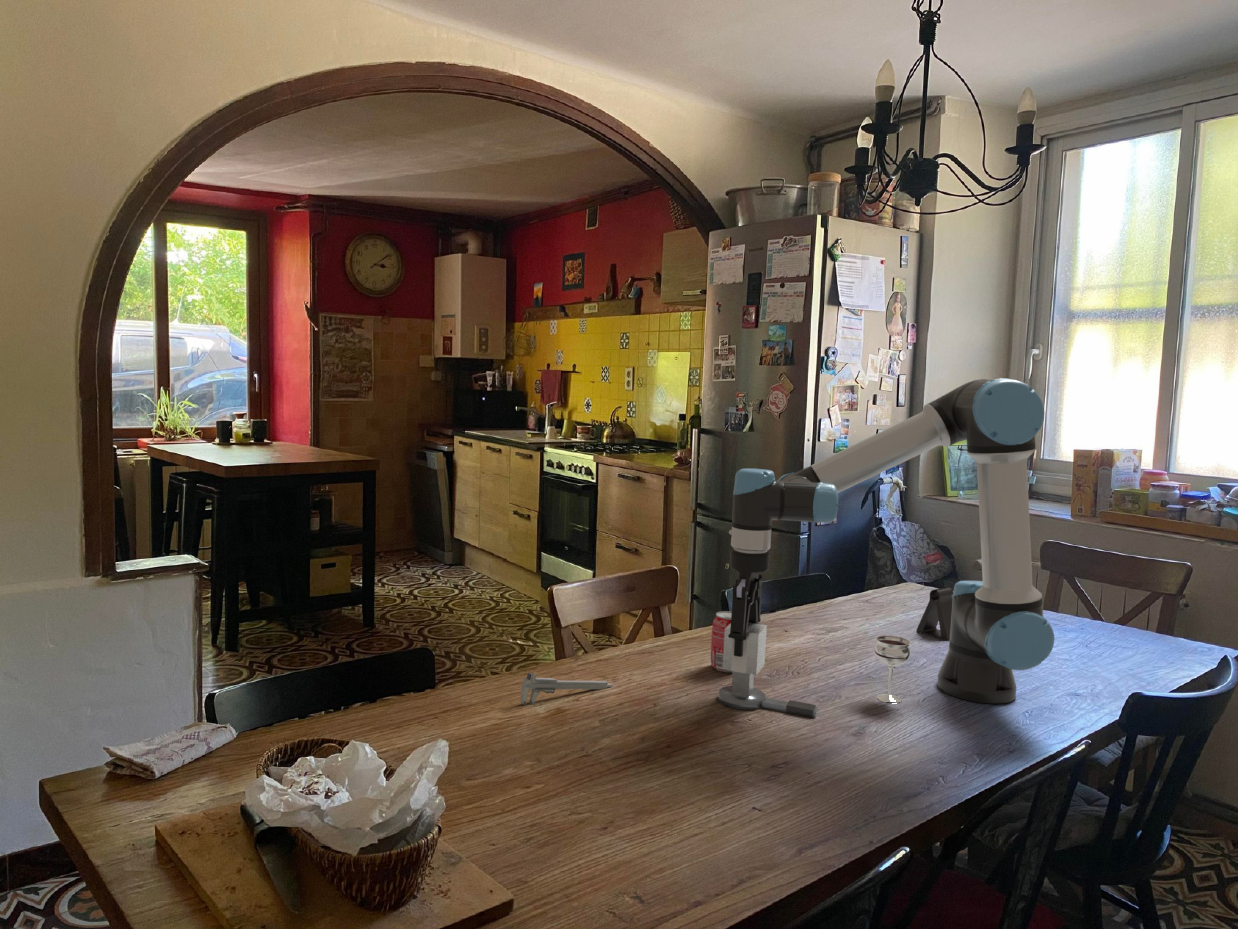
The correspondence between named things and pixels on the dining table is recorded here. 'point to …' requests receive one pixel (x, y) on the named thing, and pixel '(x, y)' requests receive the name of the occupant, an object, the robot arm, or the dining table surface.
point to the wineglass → (891, 659)
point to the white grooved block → (748, 648)
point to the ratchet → (759, 698)
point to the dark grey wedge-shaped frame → (937, 614)
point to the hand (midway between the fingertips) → (743, 665)
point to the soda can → (719, 639)
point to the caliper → (554, 686)
